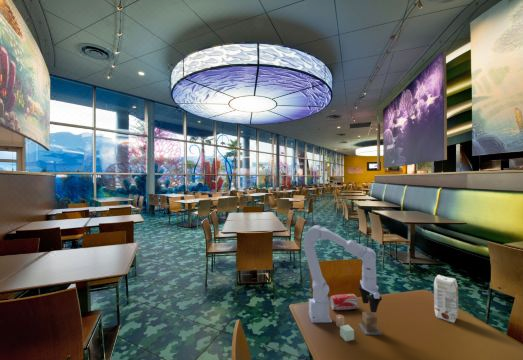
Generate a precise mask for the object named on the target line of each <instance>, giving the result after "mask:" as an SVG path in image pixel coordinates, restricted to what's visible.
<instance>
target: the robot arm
mask: <svg viewBox="0 0 523 360" xmlns="http://www.w3.org/2000/svg"><path fill="white" fill-rule="evenodd" d="M318 240H320V241H323V240H325V241H326V240H328V241H330V242H331V241H332V242H334V243H335V244H338V245H339V246H341V247H343V248H344V250H345V252H347V253H349V254H351V255H353V256H355V257H356V258H358V259H361V261H362V266H361V271H362V272H361V279H360V280H359V284H360V285H357V288H358V290H359V292H360V296H361V301H362V303H363V304H369V310H370V312H373V313H377V312H378V311H377V310H378V307H379V304H380V303H381V301H382V299H383V298H382V296H381V295H380V293H379V291H378V289H379V286H378V285H377V267H376V265H377V263H376V261H377V254H376V252H375V250H374V249H373V248H371V247H367V246H366V245H362V244H361V243H358V242H357V240H356V239H354V240H352V239H349V240H347V239H346V238H343V237H342V236H341V235H338V234H336V233H335V232H333V231H331V230H330V229H328V228H326V227H324V226H321V225H320V224H314V225H313V226H312V227H311V228H308V230H307V231H306V232H305V234H304V239H303V242H302V247H303V250H304V253H305V254H304V255H305V258H306V261H307V264H308V269H309V272H310V275H311V279H312V280H311V281H312V287H311V288H312V298H308V316H309V319H310V321H311V323H333V320H332V317H330V297H329V296H328V294H329V293H330V286H329V284H327V281H326V279H325V278H324V277H323V273H322V270H321V266H320V262H319V259H318V255H317V252H316V247H315V245H316V243H317V241H318Z"/></svg>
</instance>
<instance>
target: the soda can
mask: <svg viewBox="0 0 523 360" xmlns="http://www.w3.org/2000/svg"><path fill="white" fill-rule="evenodd" d="M329 306H330V307H331V310H334V311H347V310H357V309H358V308H359V300H358V297H357V295H355V294H354V293H343V294H334V295H331V296H329Z"/></svg>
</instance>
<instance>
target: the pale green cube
mask: <svg viewBox="0 0 523 360" xmlns="http://www.w3.org/2000/svg"><path fill="white" fill-rule="evenodd" d="M339 336H340V337H341V338H342V339H343V340H344V341H345V342H350V341H354V340H355V329H353V328H352V327H351V326H350V324H344V325H343V326H340V328H339Z"/></svg>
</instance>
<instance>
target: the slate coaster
mask: <svg viewBox="0 0 523 360" xmlns="http://www.w3.org/2000/svg"><path fill="white" fill-rule="evenodd" d="M358 327H359V328H360V329H361V331H362V332H363V334H364V335H365V336H366V335H367V336H370V335H371V336H372V335H373V336H376V335H379V336H382V334H383V333H382V332H381V330H380V329H379V328H378V327H377V332H373V331H366V330H365V328H364V327H363V325H362V323H358Z"/></svg>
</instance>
